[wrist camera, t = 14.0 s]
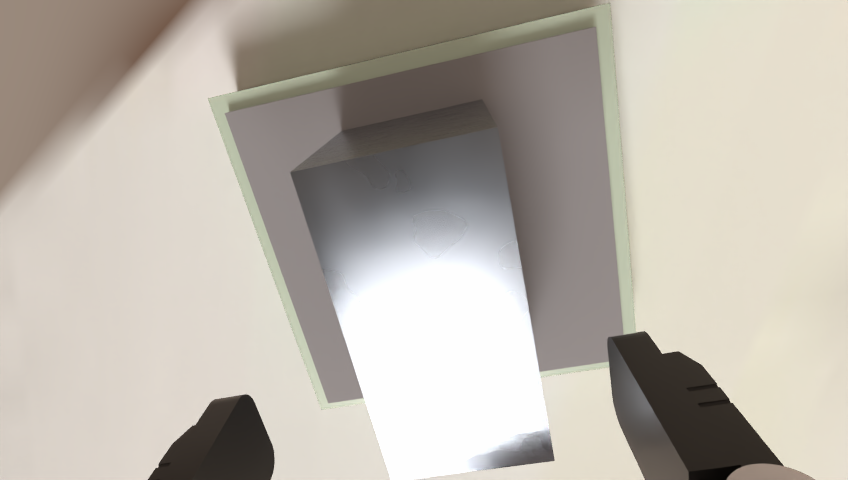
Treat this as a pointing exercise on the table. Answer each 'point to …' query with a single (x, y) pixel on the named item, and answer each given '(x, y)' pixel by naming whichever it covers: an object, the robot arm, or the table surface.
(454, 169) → the block
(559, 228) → the stand
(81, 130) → the table surface
